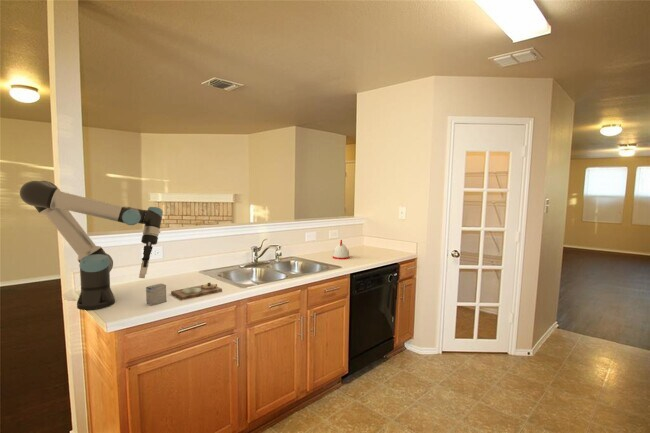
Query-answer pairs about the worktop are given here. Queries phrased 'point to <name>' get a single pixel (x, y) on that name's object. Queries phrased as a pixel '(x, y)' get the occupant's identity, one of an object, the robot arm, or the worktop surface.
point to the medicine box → (156, 294)
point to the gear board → (196, 291)
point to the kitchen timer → (341, 252)
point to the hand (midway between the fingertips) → (142, 276)
